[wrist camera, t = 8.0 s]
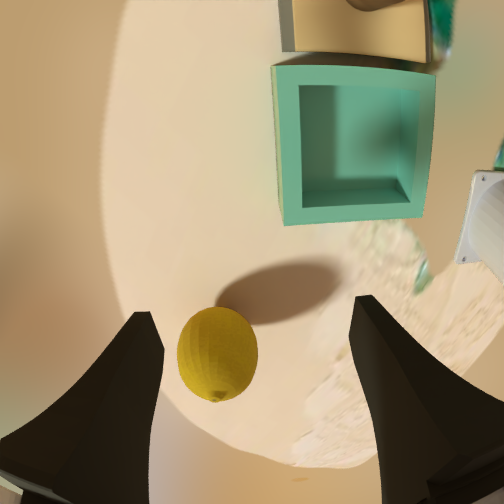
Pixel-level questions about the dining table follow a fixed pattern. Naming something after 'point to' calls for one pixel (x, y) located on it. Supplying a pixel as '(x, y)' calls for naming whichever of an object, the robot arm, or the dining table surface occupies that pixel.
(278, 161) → the dish
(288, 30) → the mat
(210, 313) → the lemon
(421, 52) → the lid
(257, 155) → the dining table surface
